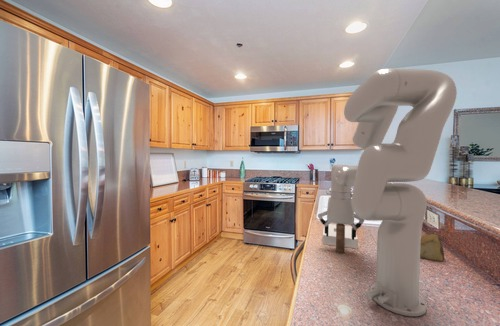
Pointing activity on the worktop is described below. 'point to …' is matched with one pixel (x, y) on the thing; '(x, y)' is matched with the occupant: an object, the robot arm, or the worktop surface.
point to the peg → (340, 238)
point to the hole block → (332, 237)
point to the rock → (431, 247)
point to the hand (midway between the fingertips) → (339, 236)
